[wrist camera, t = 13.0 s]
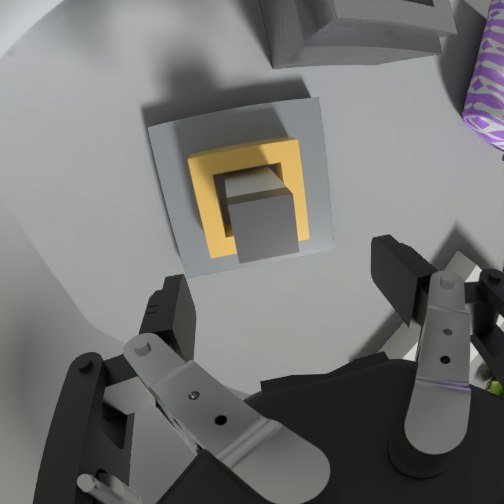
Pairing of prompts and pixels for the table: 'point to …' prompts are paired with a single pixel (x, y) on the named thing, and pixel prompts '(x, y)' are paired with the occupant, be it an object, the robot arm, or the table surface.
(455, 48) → the table surface
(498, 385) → the potted flower
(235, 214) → the plug
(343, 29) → the grey open sleeve
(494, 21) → the pencil case
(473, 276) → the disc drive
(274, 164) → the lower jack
